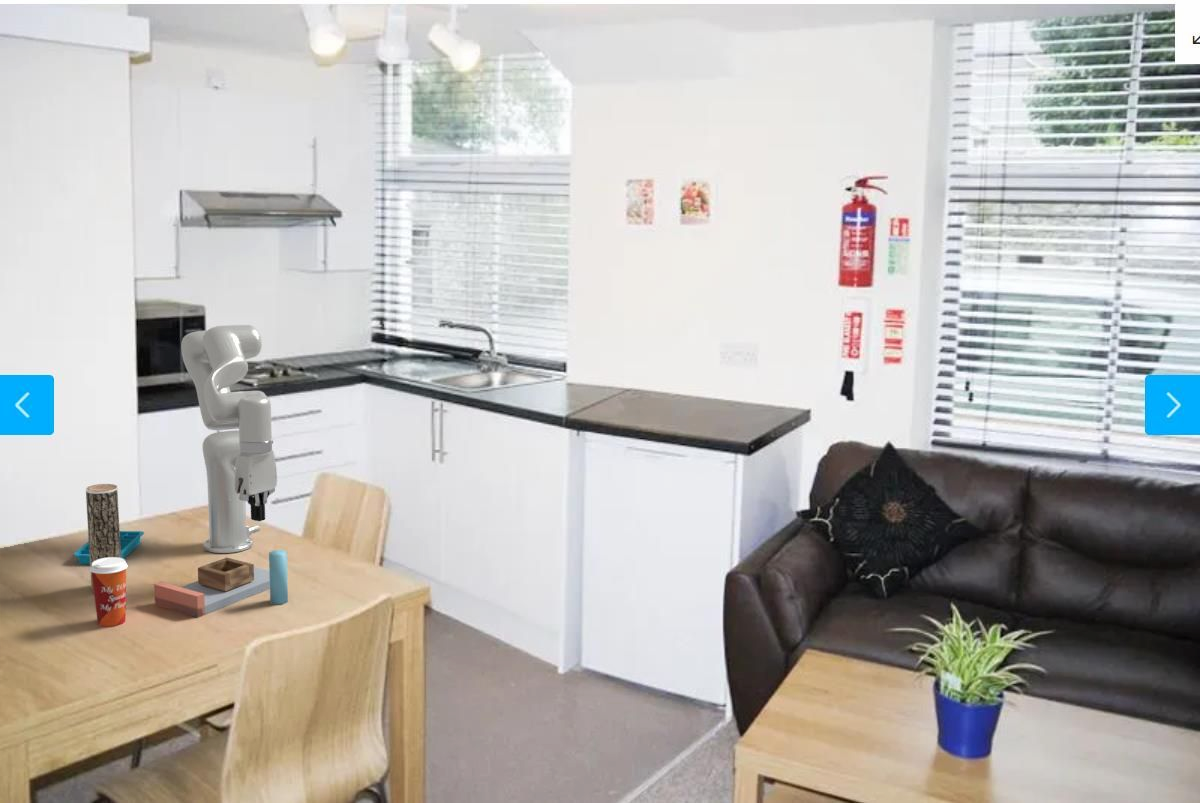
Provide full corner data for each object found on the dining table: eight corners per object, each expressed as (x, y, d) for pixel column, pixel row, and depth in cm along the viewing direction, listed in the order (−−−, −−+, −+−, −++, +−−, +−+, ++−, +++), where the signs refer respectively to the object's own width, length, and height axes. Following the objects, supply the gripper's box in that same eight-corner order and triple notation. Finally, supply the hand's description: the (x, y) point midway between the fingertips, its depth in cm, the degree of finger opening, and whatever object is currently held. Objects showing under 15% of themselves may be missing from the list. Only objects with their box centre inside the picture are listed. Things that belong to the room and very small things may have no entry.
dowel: (279, 597, 263) (277, 549, 261) (291, 600, 262) (290, 552, 259) (266, 602, 260) (265, 553, 258) (279, 605, 258) (278, 556, 256)
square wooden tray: (227, 572, 272) (226, 557, 271) (254, 580, 267) (253, 564, 267) (198, 583, 264) (197, 567, 263) (225, 591, 260) (225, 575, 259)
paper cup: (106, 631, 240) (103, 570, 238) (85, 623, 244) (81, 563, 242) (138, 620, 247) (135, 560, 244) (117, 612, 251) (113, 553, 248)
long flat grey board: (243, 571, 280) (242, 552, 279) (284, 582, 273) (284, 563, 272) (155, 604, 256) (154, 584, 255) (198, 617, 250) (197, 596, 249)
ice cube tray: (145, 541, 301) (145, 531, 300) (119, 566, 281) (119, 555, 281) (101, 541, 300) (101, 530, 300) (72, 566, 280) (71, 555, 280)
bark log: (127, 584, 268) (122, 484, 264) (112, 594, 262) (107, 492, 257) (101, 582, 269) (95, 483, 264) (85, 592, 262) (79, 490, 258)
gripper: (267, 439, 277) (269, 510, 280) (220, 450, 264) (223, 524, 267) (289, 443, 273) (291, 515, 277) (243, 454, 260) (246, 529, 264)
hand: (258, 519), depth 272 cm, fingers closed
